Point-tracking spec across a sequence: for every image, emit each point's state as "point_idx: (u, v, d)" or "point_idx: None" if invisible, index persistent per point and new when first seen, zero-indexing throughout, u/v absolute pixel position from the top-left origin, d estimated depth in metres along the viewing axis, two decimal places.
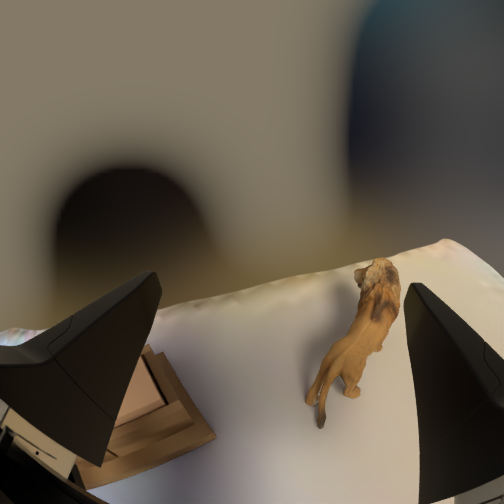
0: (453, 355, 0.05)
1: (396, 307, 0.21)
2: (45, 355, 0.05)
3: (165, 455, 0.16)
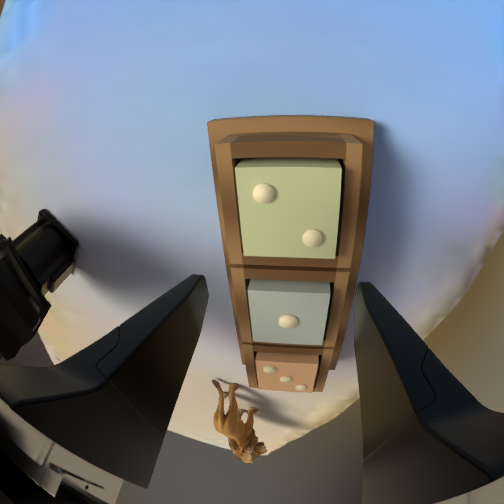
0: (386, 361, 0.05)
1: None
2: (96, 377, 0.05)
3: (238, 339, 0.26)
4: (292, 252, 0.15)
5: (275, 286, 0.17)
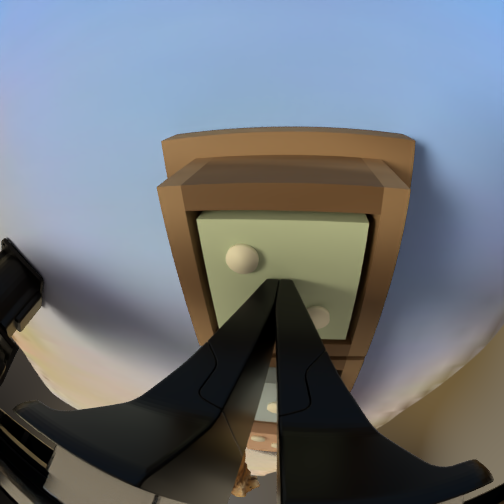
0: None
1: None
2: (206, 409, 0.04)
3: None
4: None
5: None
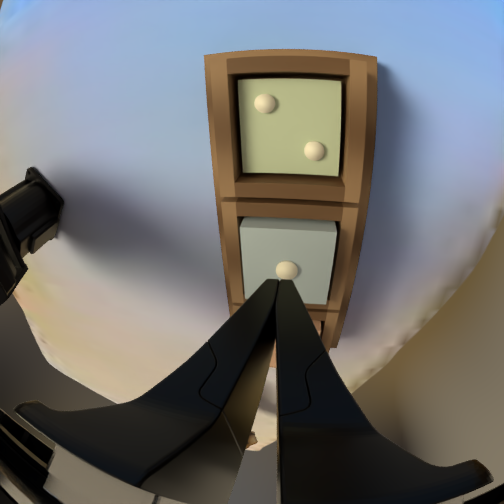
0: None
1: None
2: (205, 408, 0.04)
3: (229, 307, 0.24)
4: (293, 167, 0.14)
5: (273, 224, 0.14)
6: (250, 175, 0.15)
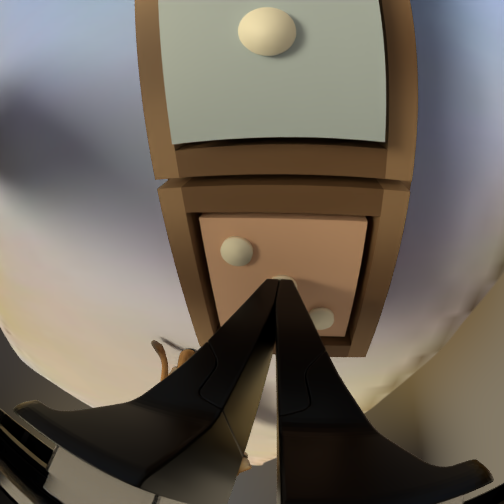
0: None
1: None
2: (205, 409, 0.04)
3: None
4: None
5: None
6: None
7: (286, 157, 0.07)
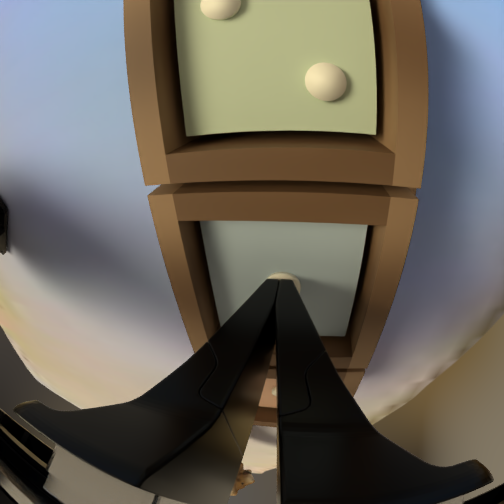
0: None
1: None
2: (205, 409, 0.04)
3: None
4: (285, 118, 0.06)
5: None
6: (204, 142, 0.07)
7: None
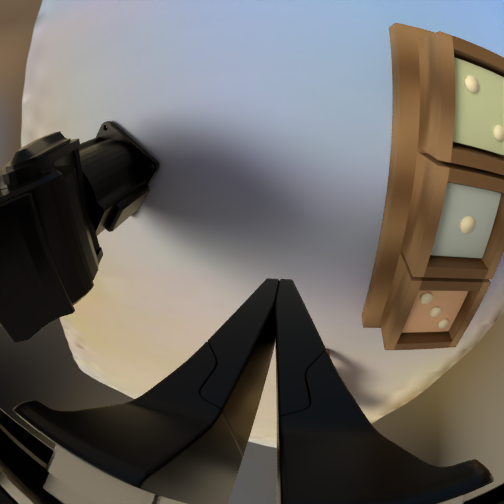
0: None
1: None
2: (206, 409, 0.04)
3: (373, 289, 0.20)
4: (485, 144, 0.10)
5: None
6: (451, 145, 0.11)
7: (460, 272, 0.14)
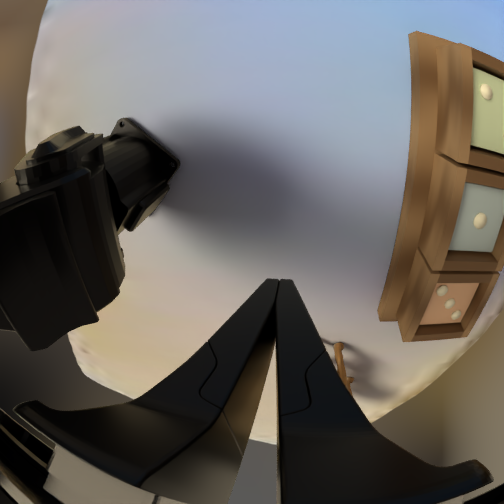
0: None
1: None
2: (206, 409, 0.04)
3: (391, 284, 0.21)
4: (496, 147, 0.11)
5: None
6: None
7: (474, 265, 0.15)
